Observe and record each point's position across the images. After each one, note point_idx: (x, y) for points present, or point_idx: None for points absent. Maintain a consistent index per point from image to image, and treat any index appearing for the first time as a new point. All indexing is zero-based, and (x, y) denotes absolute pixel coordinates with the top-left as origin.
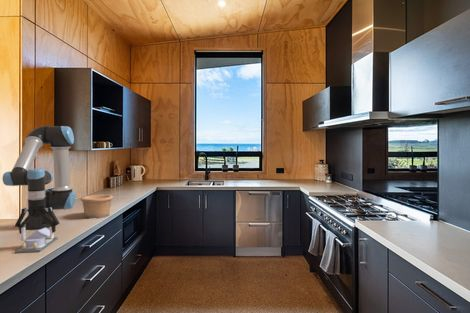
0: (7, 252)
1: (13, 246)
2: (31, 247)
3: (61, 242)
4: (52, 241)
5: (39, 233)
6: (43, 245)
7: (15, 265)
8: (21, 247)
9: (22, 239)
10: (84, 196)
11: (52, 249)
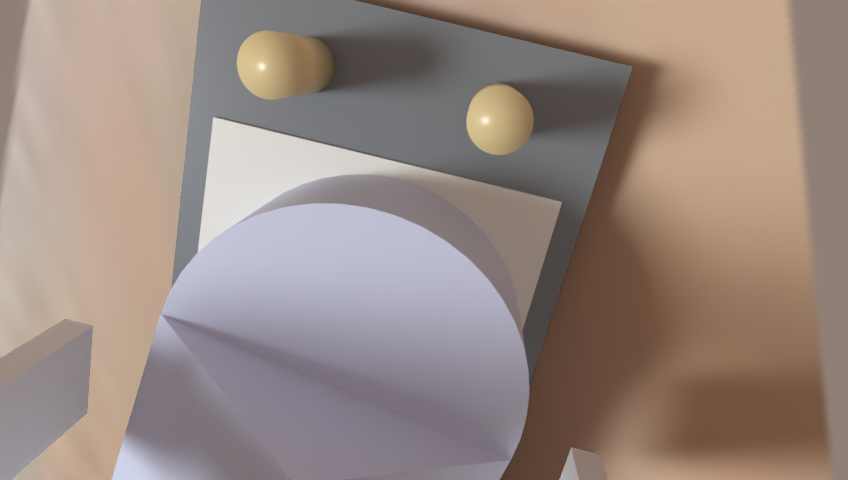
0: (757, 176)
1: (705, 472)
2: (388, 178)
3: None
4: None
5: (225, 453)
6: (218, 226)
7: None
8: (562, 268)
9: (584, 463)
10: None
11: (58, 48)
